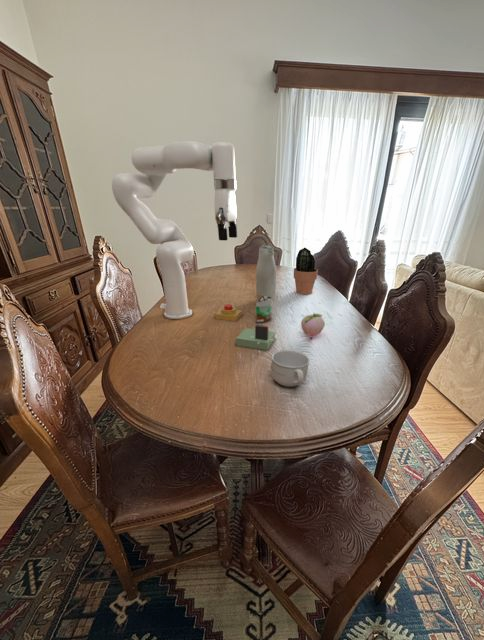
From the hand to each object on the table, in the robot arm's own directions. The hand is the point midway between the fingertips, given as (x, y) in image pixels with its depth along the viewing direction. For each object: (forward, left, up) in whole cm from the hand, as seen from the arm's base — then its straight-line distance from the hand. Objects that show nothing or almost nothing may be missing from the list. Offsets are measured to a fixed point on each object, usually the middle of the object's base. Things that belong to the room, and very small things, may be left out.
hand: (228, 238), depth 107 cm
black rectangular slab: (+18, -16, -31) cm, 40 cm away
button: (-5, +8, -31) cm, 32 cm away
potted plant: (+21, +59, -35) cm, 71 cm away
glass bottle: (+4, +37, -35) cm, 51 cm away
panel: (+16, -14, -35) cm, 41 cm away
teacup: (+33, -36, -35) cm, 60 cm away
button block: (-5, +8, -35) cm, 36 cm away
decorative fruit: (+34, -1, -35) cm, 49 cm away
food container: (+12, +10, -35) cm, 38 cm away
